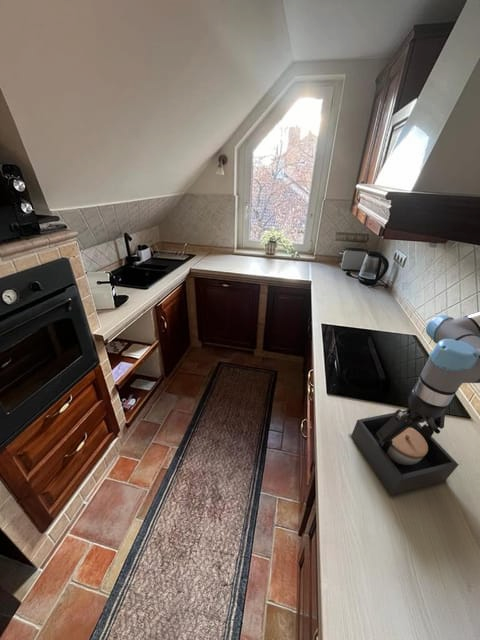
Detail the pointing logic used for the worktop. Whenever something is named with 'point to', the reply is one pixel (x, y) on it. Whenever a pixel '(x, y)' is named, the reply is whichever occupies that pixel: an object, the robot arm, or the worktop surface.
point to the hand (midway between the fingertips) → (400, 447)
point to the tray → (395, 475)
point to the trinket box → (408, 447)
